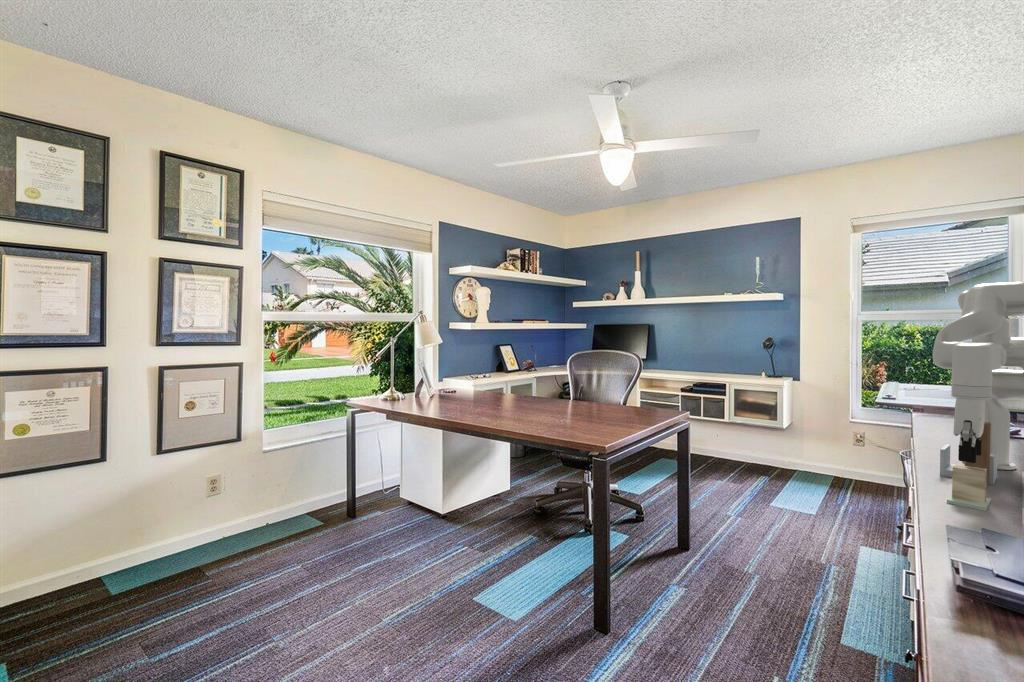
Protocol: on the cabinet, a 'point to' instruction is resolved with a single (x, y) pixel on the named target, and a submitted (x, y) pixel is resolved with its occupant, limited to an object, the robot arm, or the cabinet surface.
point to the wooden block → (983, 452)
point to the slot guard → (947, 467)
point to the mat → (969, 503)
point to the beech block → (969, 483)
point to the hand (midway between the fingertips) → (969, 458)
